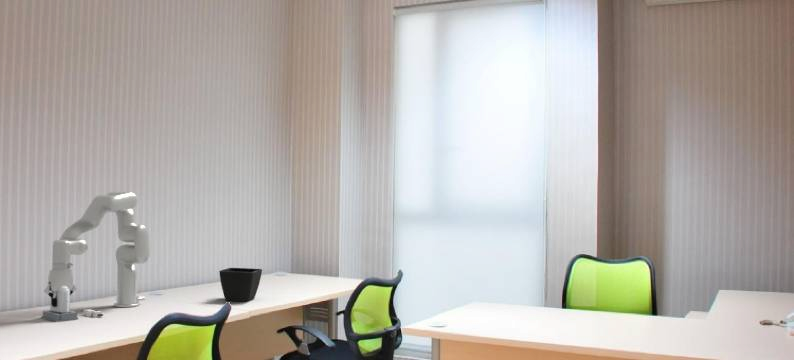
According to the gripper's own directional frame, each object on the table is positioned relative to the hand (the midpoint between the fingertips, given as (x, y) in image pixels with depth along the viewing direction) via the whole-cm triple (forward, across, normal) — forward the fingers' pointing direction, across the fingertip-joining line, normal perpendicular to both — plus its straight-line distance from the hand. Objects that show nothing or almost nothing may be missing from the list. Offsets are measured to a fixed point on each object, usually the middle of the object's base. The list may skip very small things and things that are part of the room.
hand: (60, 305), depth 336 cm
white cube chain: (+6, -14, +4) cm, 16 cm away
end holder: (+6, 0, 0) cm, 6 cm away
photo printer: (+3, 0, 0) cm, 3 cm away
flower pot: (+6, -95, +12) cm, 96 cm away
